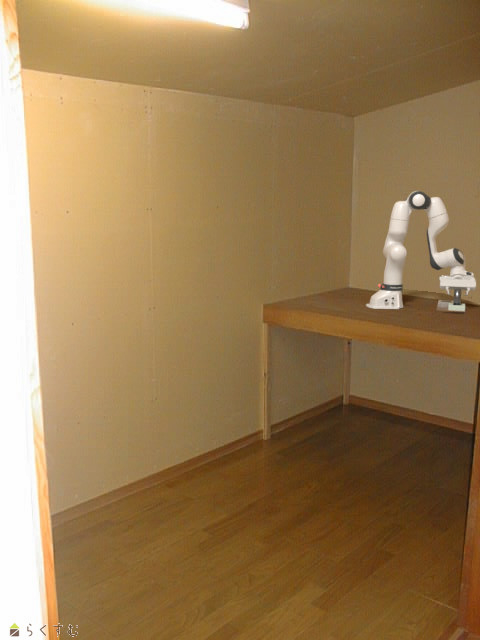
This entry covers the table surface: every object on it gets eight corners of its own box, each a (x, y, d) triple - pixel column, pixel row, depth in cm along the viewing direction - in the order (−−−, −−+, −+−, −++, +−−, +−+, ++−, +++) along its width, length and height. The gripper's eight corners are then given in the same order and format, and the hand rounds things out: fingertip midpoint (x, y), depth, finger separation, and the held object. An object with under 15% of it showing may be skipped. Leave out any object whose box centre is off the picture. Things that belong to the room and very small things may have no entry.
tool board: (465, 314, 340) (465, 311, 340) (436, 312, 345) (436, 309, 345) (464, 308, 360) (464, 305, 360) (437, 306, 366) (437, 304, 365)
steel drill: (454, 310, 345) (456, 289, 342) (451, 308, 349) (452, 288, 346) (461, 309, 345) (462, 289, 343) (457, 308, 349) (459, 288, 347)
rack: (464, 311, 341) (465, 306, 341) (448, 310, 344) (448, 305, 344) (464, 308, 350) (464, 303, 349) (448, 307, 352) (448, 302, 352)
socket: (453, 307, 352) (454, 302, 352) (437, 306, 355) (438, 302, 355) (453, 305, 361) (454, 300, 360) (438, 304, 364) (438, 299, 363)
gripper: (439, 272, 352) (439, 290, 345) (476, 273, 347) (476, 292, 339) (439, 278, 357) (438, 297, 350) (475, 280, 352) (475, 298, 344)
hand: (457, 294), depth 345 cm, fingers open, 8 cm apart
